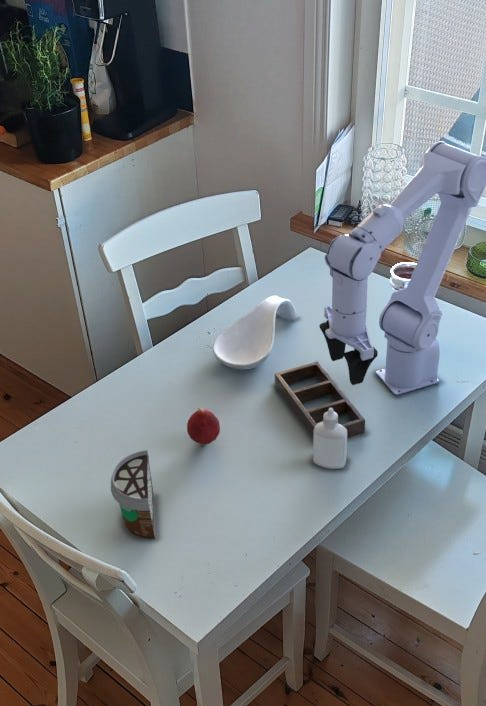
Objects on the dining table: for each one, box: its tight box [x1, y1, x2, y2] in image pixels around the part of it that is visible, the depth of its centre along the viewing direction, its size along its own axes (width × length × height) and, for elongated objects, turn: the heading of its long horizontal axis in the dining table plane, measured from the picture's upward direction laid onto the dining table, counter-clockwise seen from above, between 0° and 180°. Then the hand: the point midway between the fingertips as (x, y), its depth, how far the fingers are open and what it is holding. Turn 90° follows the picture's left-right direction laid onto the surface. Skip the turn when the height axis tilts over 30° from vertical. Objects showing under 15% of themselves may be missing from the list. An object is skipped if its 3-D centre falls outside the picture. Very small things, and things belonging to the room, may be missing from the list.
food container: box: [110, 449, 156, 540], centre depth 149 cm, size 12×6×10 cm, turn 5°
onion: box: [186, 407, 221, 445], centre depth 163 cm, size 6×6×8 cm
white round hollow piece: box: [389, 262, 417, 292], centre depth 186 cm, size 7×7×12 cm
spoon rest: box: [212, 295, 298, 370], centre depth 184 cm, size 24×12×7 cm, turn 150°
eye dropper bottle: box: [312, 408, 348, 470], centre depth 156 cm, size 4×6×12 cm
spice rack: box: [274, 360, 366, 439], centre depth 170 cm, size 9×19×3 cm, turn 22°
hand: (346, 370), depth 162 cm, fingers open, 7 cm apart
